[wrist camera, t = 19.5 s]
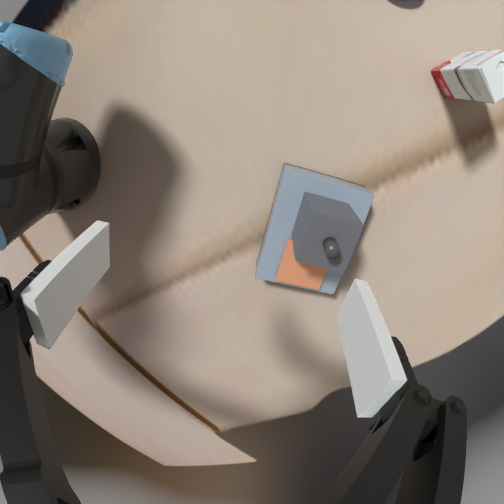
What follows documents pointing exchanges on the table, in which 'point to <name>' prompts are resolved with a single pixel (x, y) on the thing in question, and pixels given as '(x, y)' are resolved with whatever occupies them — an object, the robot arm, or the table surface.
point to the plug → (325, 232)
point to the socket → (287, 209)
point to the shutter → (299, 270)
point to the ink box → (473, 76)
